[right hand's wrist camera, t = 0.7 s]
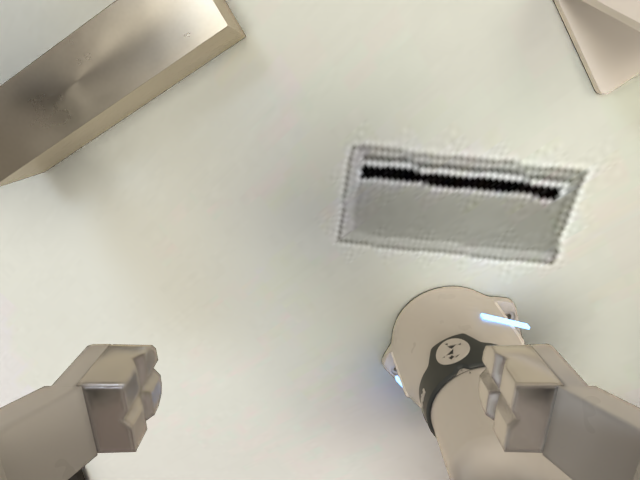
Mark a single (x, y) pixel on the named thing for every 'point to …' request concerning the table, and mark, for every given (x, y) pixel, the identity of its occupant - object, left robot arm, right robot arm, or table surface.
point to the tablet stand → (605, 39)
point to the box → (105, 77)
